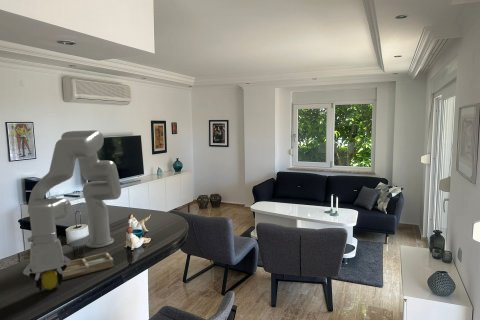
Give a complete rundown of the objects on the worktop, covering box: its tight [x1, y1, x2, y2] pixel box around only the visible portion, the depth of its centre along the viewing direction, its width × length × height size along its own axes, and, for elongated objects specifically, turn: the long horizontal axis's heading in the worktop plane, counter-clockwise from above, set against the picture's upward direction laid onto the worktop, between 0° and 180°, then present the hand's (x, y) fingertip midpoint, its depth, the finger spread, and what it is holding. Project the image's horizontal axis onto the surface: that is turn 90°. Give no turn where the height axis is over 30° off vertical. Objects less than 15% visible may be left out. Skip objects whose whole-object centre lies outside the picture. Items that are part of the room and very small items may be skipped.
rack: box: [56, 251, 115, 281], centre depth 140 cm, size 10×20×3 cm, turn 125°
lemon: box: [40, 269, 58, 291], centre depth 122 cm, size 6×6×8 cm
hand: (50, 285), depth 123 cm, fingers closed on lemon, 5 cm apart
